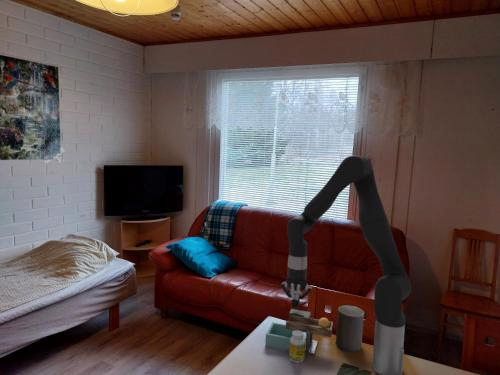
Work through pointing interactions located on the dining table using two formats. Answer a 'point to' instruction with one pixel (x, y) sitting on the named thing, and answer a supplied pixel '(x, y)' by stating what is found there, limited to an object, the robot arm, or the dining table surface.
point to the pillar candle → (349, 328)
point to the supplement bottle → (297, 346)
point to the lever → (306, 323)
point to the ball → (324, 323)
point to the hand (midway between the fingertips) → (295, 307)
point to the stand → (310, 344)
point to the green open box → (278, 337)
